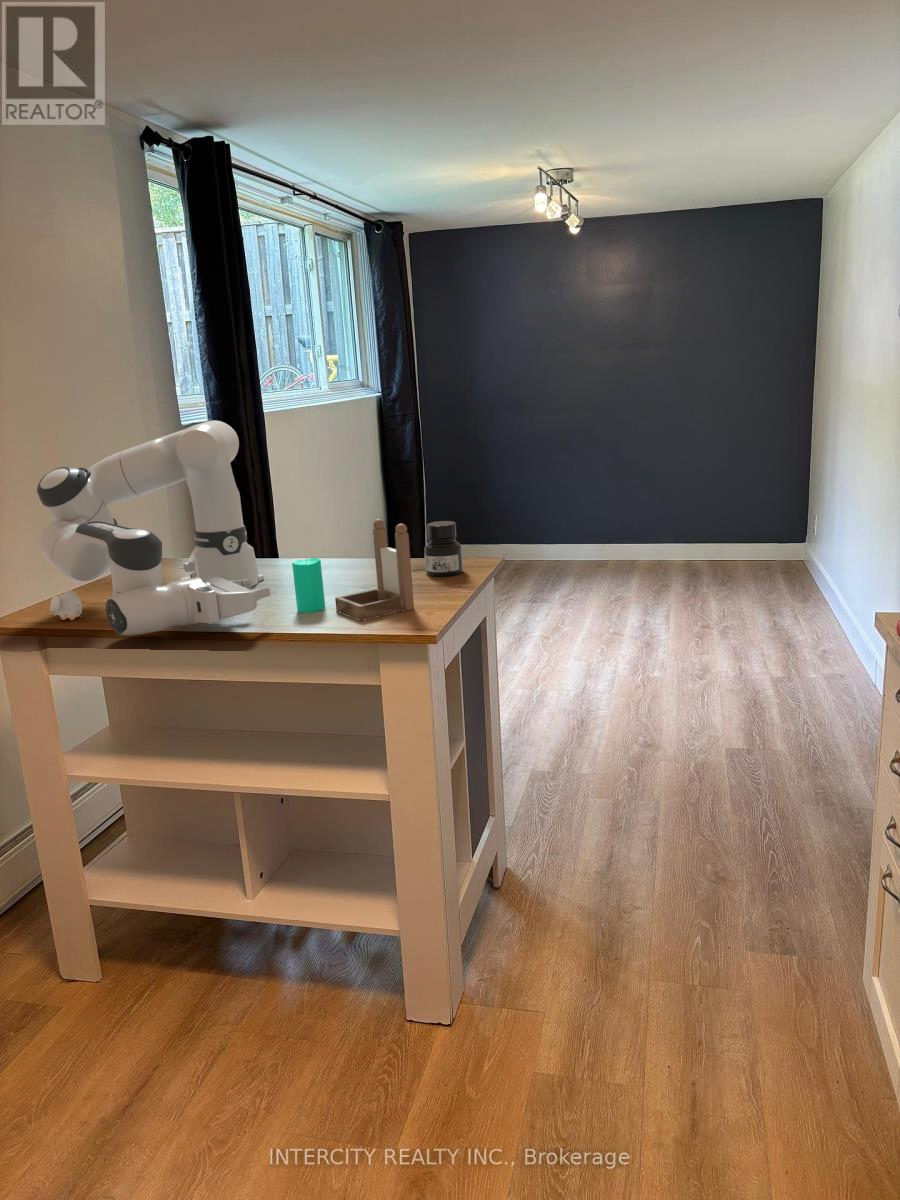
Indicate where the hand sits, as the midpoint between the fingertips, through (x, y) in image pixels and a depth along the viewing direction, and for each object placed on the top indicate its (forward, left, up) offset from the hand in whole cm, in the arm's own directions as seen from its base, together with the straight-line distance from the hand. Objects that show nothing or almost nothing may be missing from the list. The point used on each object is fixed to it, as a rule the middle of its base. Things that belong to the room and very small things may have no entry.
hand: (259, 587), depth 193 cm
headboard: (+11, +25, -7) cm, 29 cm away
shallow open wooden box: (+11, +19, -7) cm, 23 cm away
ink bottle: (-5, +49, -7) cm, 50 cm away
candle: (0, +11, -7) cm, 13 cm away
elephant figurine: (-34, -31, -7) cm, 47 cm away
